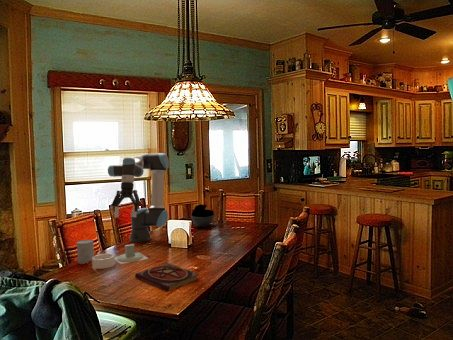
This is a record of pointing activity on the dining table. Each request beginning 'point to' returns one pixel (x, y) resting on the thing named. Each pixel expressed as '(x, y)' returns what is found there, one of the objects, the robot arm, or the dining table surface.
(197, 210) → the bowl of black rocks
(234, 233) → the dining table surface
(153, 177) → the robot arm
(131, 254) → the sage lid
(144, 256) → the grey mat
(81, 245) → the grey cylindrical piece
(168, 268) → the book
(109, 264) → the ceramic bowl
